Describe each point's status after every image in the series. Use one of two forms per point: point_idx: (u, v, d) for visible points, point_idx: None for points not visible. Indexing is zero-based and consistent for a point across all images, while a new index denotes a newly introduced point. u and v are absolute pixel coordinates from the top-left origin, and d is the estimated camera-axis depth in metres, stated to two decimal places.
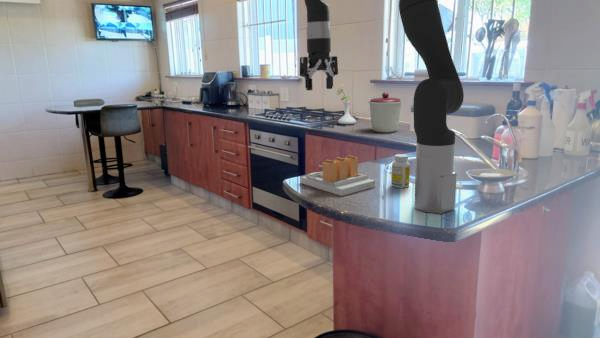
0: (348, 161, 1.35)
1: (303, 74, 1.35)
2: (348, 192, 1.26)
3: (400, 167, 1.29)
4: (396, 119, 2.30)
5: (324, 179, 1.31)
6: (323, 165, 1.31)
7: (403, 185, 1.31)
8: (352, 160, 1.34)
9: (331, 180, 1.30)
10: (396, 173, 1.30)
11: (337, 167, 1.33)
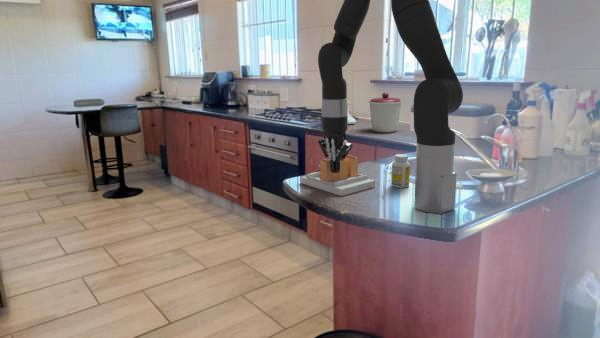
0: (348, 161, 1.35)
1: (343, 158, 1.26)
2: (348, 192, 1.26)
3: (400, 167, 1.29)
4: (396, 119, 2.30)
5: (322, 179, 1.32)
6: (320, 164, 1.32)
7: (403, 185, 1.31)
8: (352, 160, 1.34)
9: (328, 179, 1.31)
10: (396, 173, 1.30)
11: None
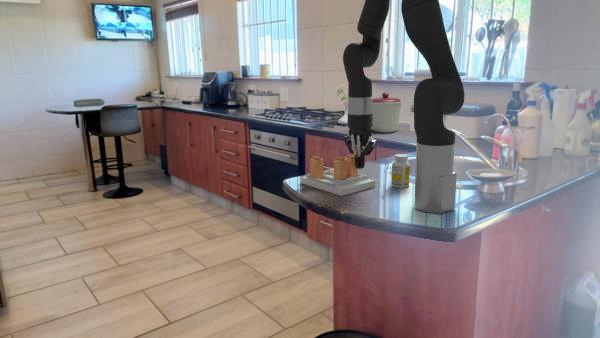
0: (348, 161, 1.35)
1: (368, 154, 1.30)
2: (348, 192, 1.26)
3: (400, 167, 1.29)
4: (396, 119, 2.30)
5: (312, 176, 1.36)
6: (311, 162, 1.35)
7: (403, 185, 1.31)
8: (352, 160, 1.34)
9: (318, 176, 1.35)
10: (396, 173, 1.30)
11: (337, 167, 1.33)
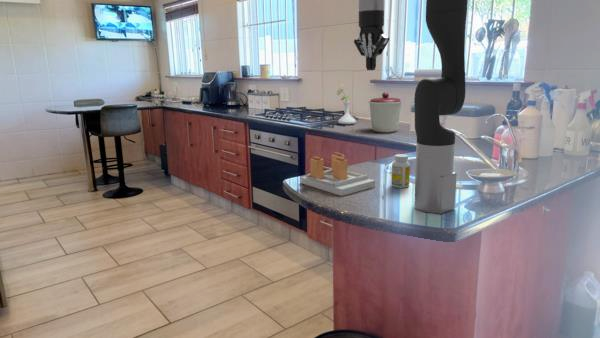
0: (335, 158, 1.40)
1: (379, 53, 1.29)
2: (348, 192, 1.26)
3: (400, 167, 1.29)
4: (396, 119, 2.30)
5: (312, 176, 1.36)
6: (311, 162, 1.35)
7: (403, 185, 1.31)
8: None
9: (318, 176, 1.35)
10: (396, 173, 1.30)
11: (337, 167, 1.33)
